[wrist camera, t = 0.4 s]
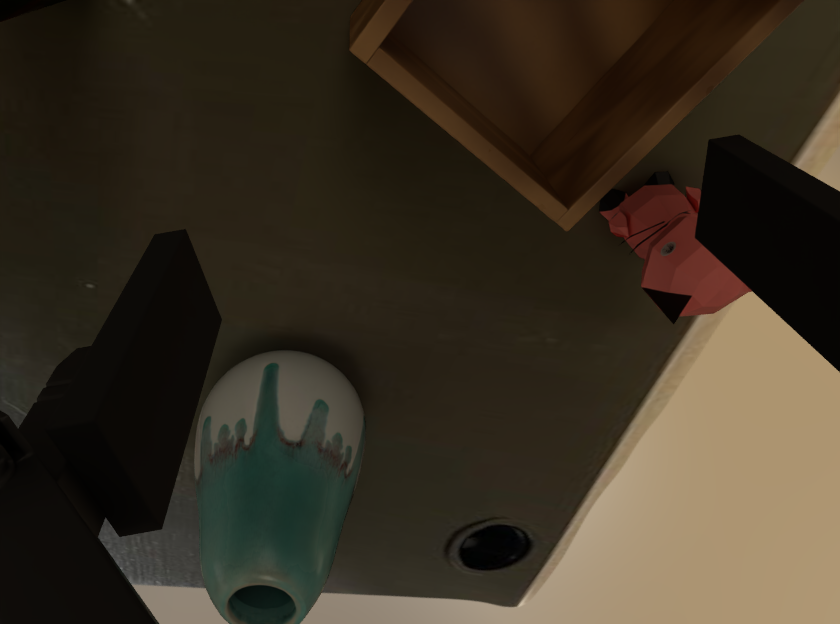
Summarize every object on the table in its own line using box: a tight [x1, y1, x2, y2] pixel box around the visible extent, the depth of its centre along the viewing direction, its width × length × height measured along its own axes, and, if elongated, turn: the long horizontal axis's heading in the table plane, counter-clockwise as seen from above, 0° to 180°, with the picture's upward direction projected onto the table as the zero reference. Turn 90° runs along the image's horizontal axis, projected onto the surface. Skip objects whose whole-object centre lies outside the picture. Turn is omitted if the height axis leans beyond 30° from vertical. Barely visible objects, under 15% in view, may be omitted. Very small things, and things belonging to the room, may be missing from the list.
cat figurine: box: [599, 171, 752, 324], centre depth 35 cm, size 7×7×12 cm
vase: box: [194, 350, 366, 624], centre depth 39 cm, size 12×12×18 cm
